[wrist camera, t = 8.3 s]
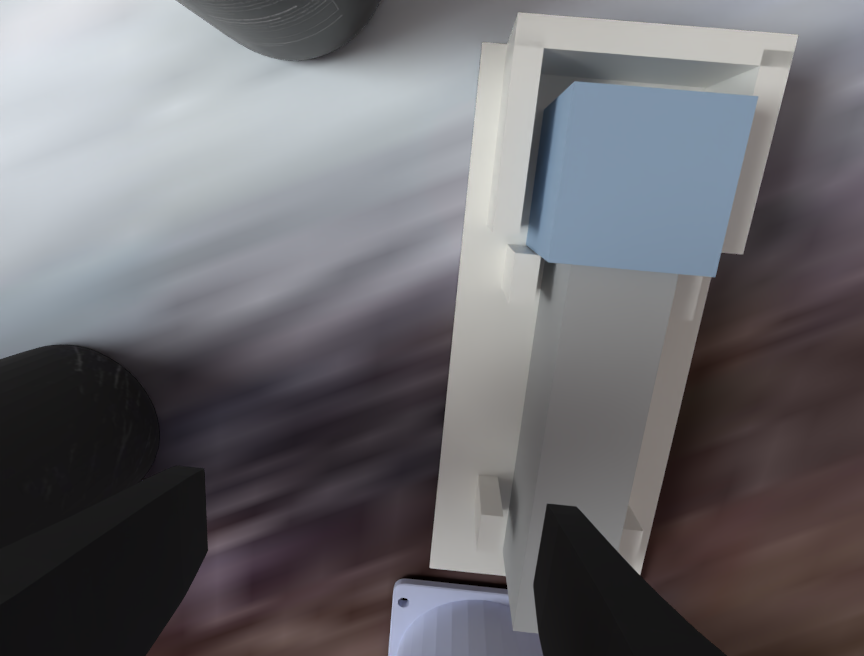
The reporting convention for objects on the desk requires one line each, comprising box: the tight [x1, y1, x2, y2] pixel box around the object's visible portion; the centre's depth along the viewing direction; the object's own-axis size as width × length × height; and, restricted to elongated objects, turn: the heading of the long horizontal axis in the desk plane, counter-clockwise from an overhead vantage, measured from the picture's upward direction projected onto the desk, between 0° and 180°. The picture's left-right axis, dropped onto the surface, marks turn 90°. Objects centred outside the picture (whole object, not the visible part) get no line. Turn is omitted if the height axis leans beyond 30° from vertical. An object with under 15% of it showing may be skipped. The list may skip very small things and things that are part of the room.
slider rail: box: [430, 12, 798, 576], centre depth 18 cm, size 21×9×4 cm, turn 175°
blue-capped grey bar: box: [503, 81, 758, 634], centre depth 17 cm, size 18×4×4 cm, turn 175°
